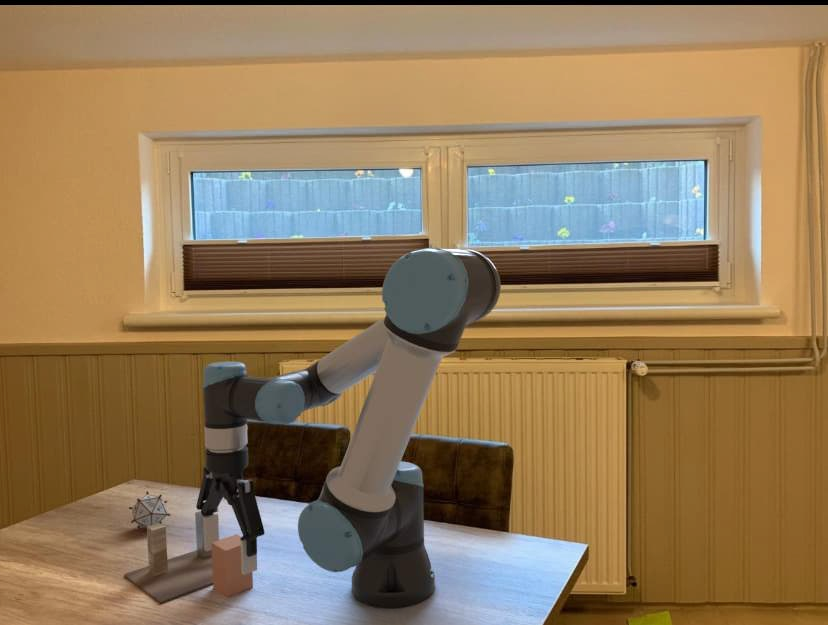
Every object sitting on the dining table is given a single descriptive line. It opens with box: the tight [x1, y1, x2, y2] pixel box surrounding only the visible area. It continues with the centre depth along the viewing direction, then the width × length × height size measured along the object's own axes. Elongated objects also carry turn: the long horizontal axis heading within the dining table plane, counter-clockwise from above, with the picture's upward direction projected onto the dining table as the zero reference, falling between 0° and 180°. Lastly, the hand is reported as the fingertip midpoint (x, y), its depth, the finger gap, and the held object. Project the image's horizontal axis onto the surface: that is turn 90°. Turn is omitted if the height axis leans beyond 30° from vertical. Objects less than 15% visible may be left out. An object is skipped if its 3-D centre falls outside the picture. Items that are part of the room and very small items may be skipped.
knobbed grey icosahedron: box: [128, 490, 171, 529], centre depth 155 cm, size 9×8×10 cm
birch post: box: [146, 523, 168, 576], centre depth 131 cm, size 3×3×9 cm
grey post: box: [194, 510, 212, 559], centre depth 138 cm, size 3×3×9 cm
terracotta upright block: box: [211, 534, 254, 598], centre depth 125 cm, size 5×5×9 cm
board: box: [123, 549, 213, 605], centre depth 131 cm, size 16×18×1 cm
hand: (229, 560), depth 125 cm, fingers open, 13 cm apart
